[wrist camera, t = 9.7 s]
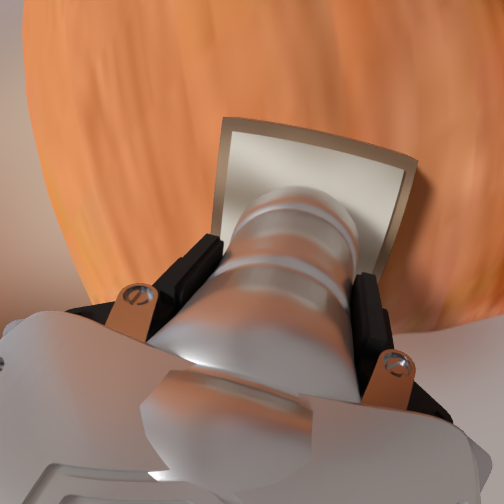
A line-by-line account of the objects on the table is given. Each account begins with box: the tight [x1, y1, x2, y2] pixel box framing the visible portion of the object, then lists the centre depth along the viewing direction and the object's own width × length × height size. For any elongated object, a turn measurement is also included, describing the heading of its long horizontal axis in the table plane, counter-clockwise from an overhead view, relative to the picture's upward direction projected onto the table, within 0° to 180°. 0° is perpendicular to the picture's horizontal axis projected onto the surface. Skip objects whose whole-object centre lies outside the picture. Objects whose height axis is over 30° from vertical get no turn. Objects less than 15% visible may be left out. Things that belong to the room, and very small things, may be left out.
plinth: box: [211, 117, 418, 284], centre depth 19 cm, size 12×12×3 cm
